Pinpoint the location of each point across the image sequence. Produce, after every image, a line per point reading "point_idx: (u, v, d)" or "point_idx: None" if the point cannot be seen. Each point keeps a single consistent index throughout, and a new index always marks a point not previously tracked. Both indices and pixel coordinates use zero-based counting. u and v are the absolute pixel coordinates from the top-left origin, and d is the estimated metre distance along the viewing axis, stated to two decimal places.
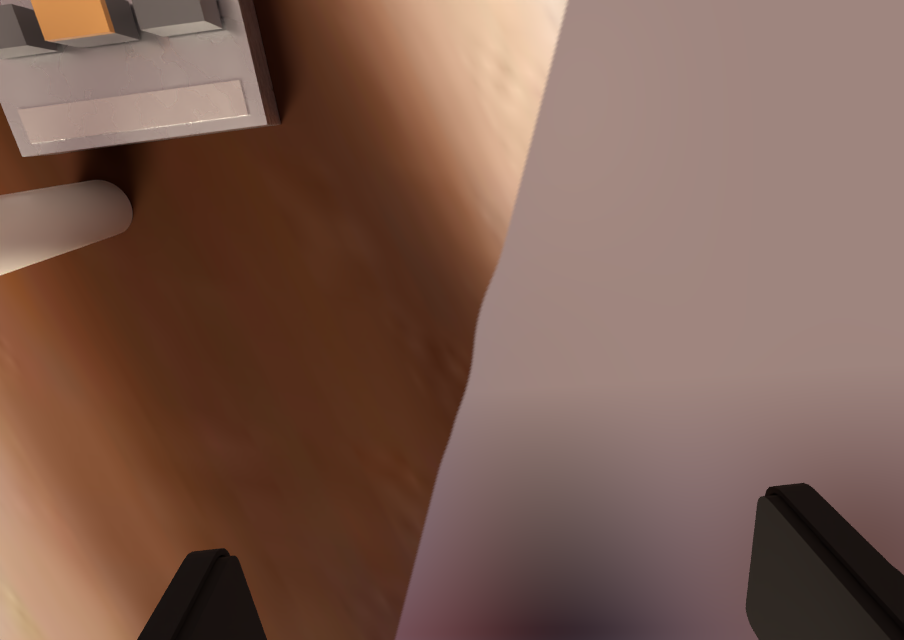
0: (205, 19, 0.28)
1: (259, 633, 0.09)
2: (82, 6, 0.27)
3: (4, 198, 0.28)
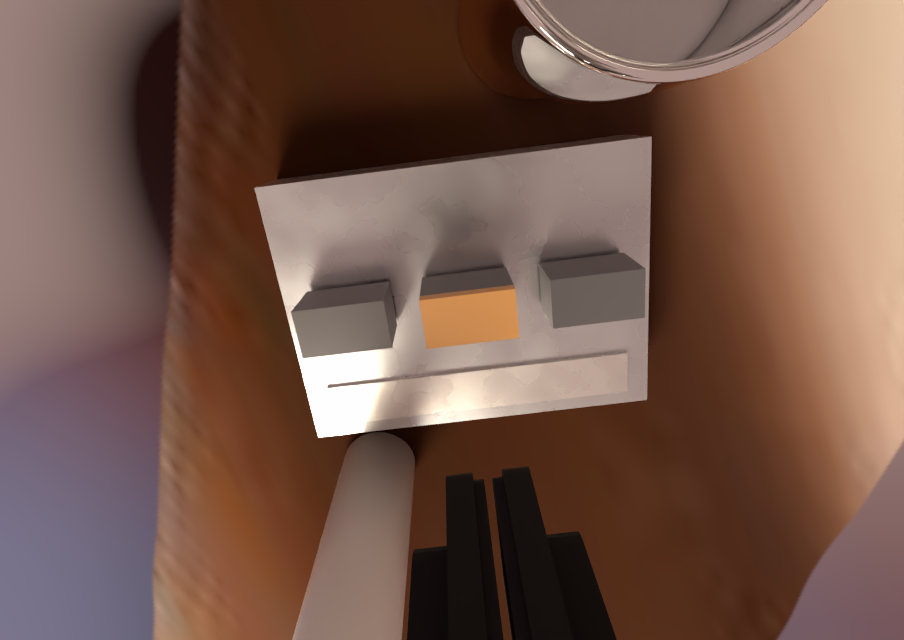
0: (644, 315, 0.20)
1: None
2: (489, 309, 0.19)
3: (365, 564, 0.20)
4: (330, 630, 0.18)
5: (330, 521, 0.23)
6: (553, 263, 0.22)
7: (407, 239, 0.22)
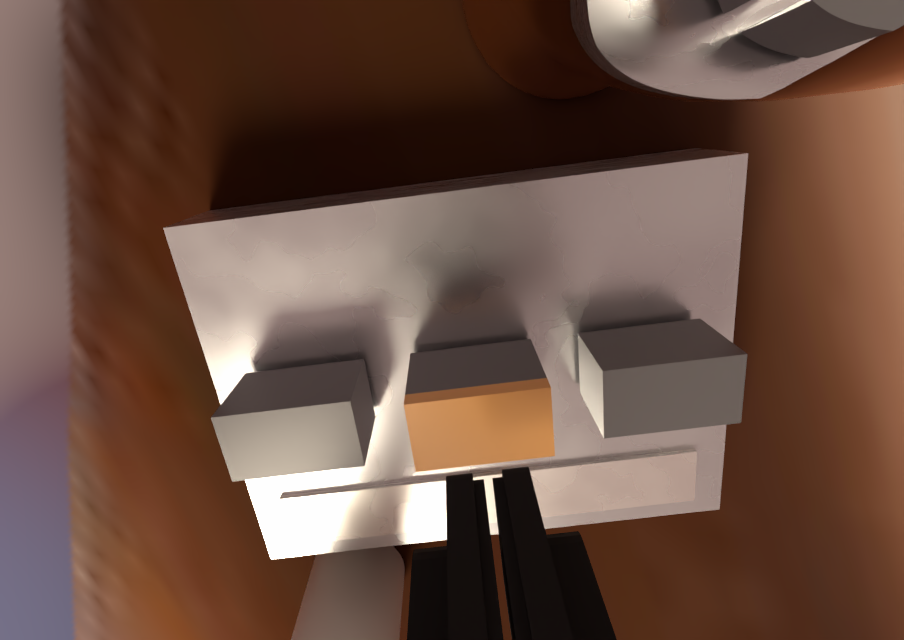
0: (739, 418, 0.14)
1: None
2: (511, 416, 0.13)
3: None
4: None
5: None
6: (599, 335, 0.15)
7: (389, 300, 0.15)
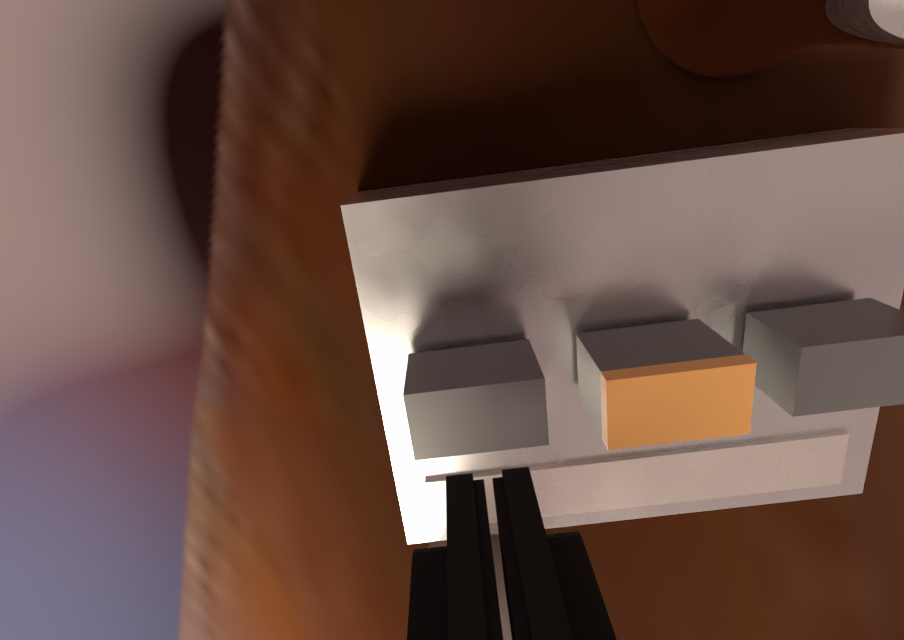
0: None
1: None
2: (711, 393, 0.13)
3: None
4: None
5: None
6: (772, 314, 0.15)
7: (557, 279, 0.15)
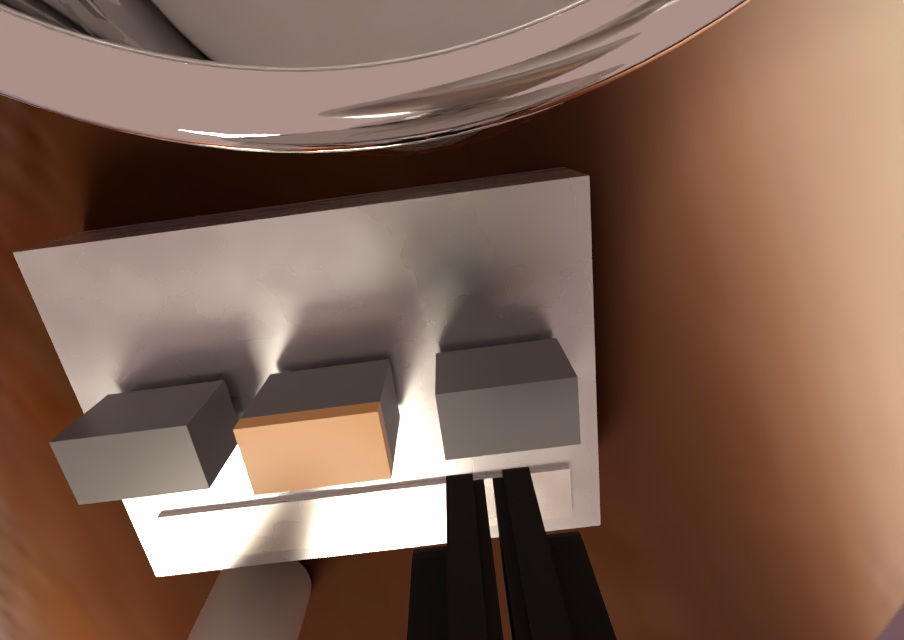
0: (579, 439, 0.14)
1: None
2: (342, 440, 0.13)
3: None
4: None
5: None
6: (454, 355, 0.15)
7: (246, 321, 0.15)
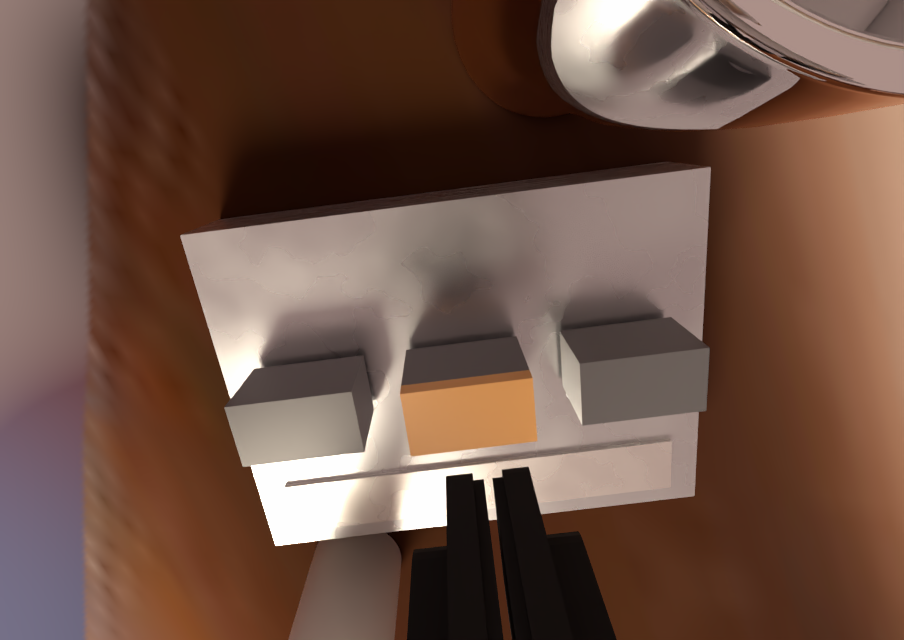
0: (704, 406, 0.15)
1: None
2: (497, 404, 0.14)
3: None
4: None
5: None
6: (579, 332, 0.16)
7: (386, 300, 0.16)
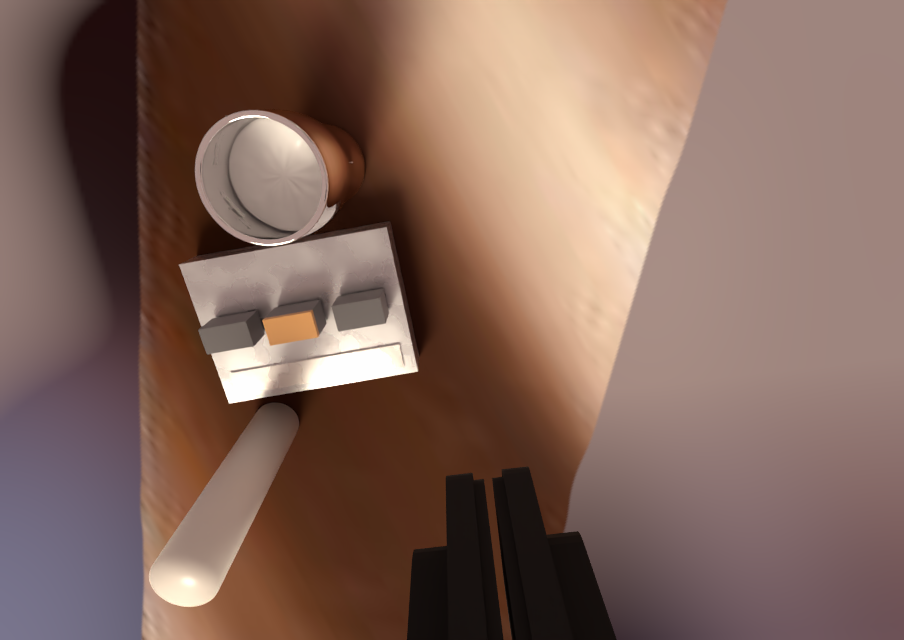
0: (385, 322, 0.38)
1: None
2: (299, 323, 0.37)
3: (243, 461, 0.38)
4: (216, 485, 0.35)
5: None
6: (344, 296, 0.39)
7: (264, 287, 0.40)
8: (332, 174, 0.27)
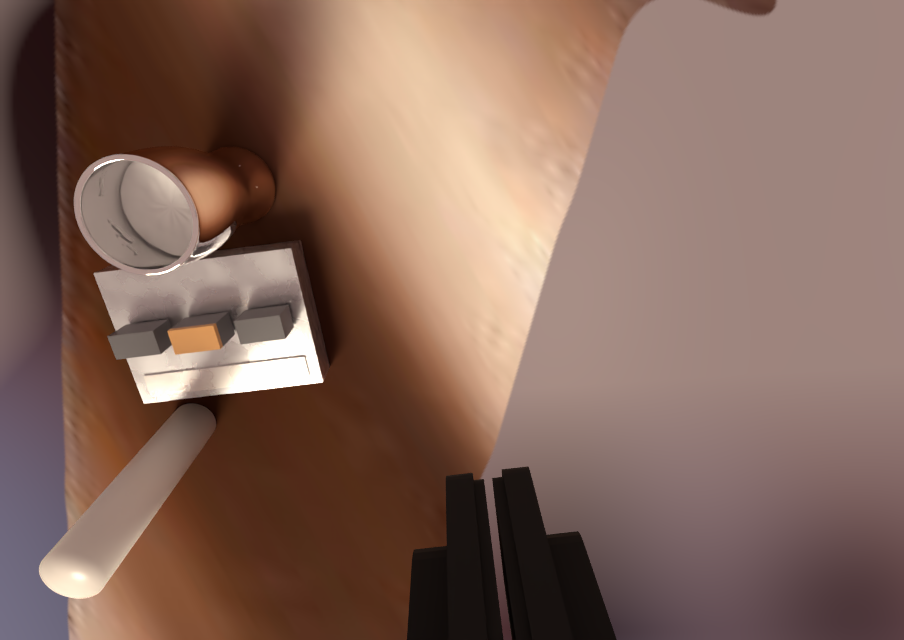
0: (285, 337, 0.41)
1: None
2: (202, 335, 0.40)
3: (147, 463, 0.40)
4: (116, 486, 0.38)
5: None
6: (250, 310, 0.42)
7: (175, 298, 0.42)
8: (206, 212, 0.29)
